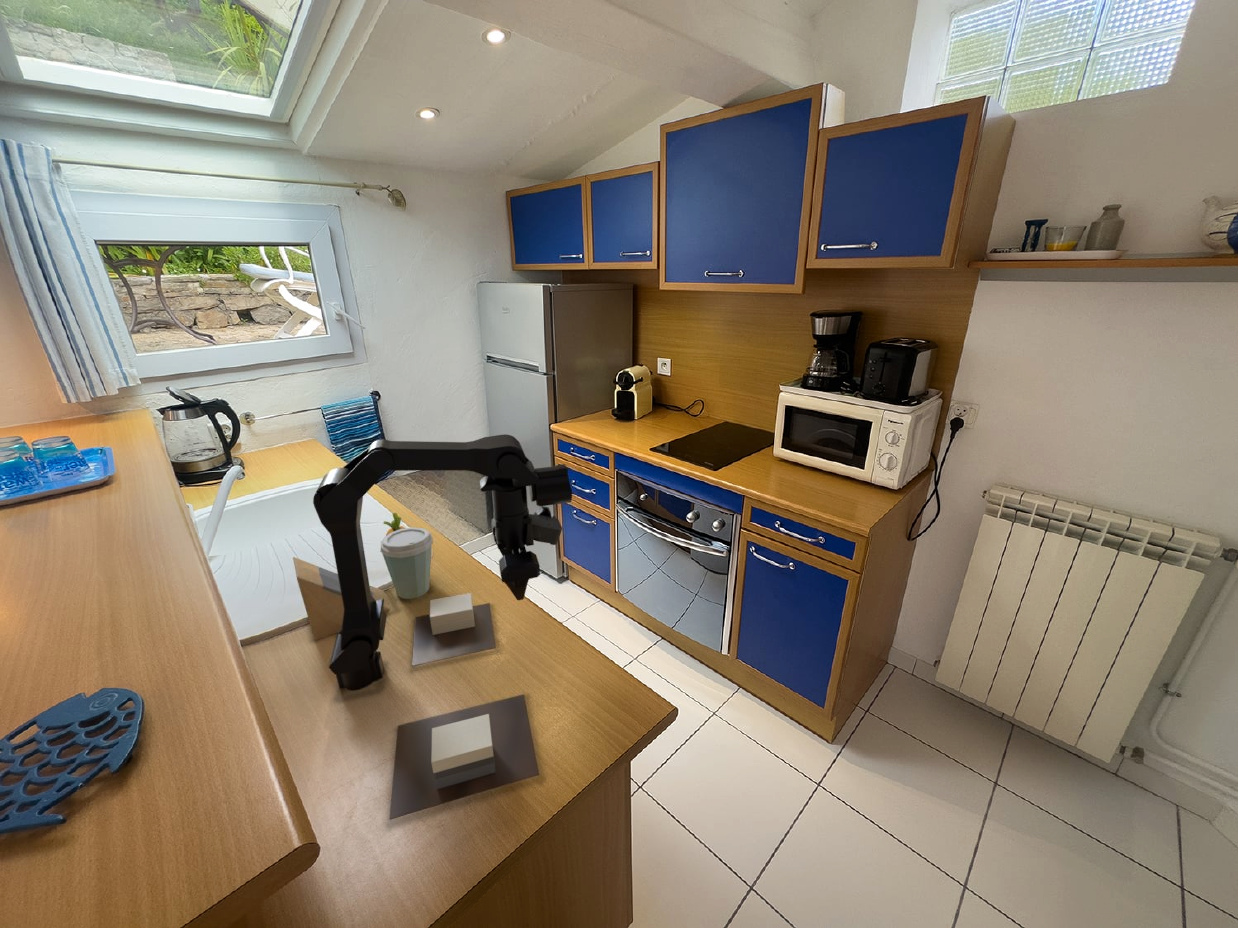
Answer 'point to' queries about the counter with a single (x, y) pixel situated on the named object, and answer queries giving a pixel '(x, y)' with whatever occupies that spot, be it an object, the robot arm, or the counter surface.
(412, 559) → the disposable coffee cup
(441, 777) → the grey books
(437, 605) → the cream books
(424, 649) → the back board
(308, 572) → the sandwich container
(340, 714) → the counter surface
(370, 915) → the counter surface
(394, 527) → the carrot
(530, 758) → the front board
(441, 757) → the cream book
